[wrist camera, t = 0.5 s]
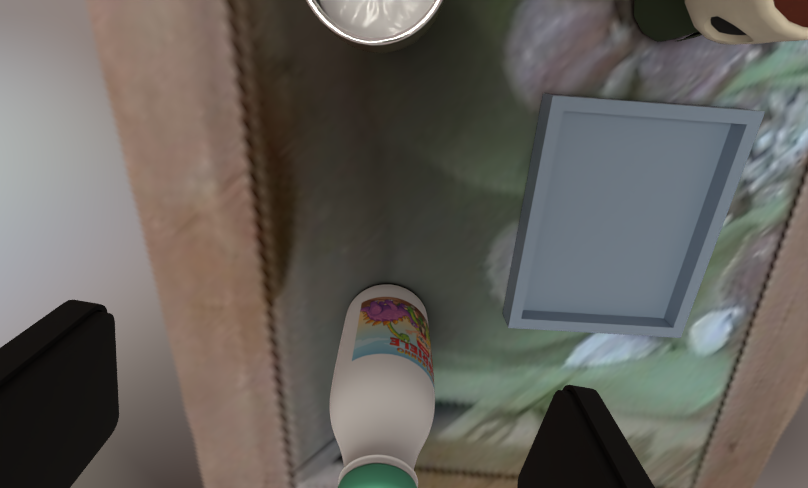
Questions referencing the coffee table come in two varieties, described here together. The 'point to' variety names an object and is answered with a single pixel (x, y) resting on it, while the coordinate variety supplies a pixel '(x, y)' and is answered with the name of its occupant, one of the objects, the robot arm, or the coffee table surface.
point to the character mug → (724, 20)
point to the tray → (623, 213)
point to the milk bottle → (382, 389)
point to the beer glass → (377, 21)
